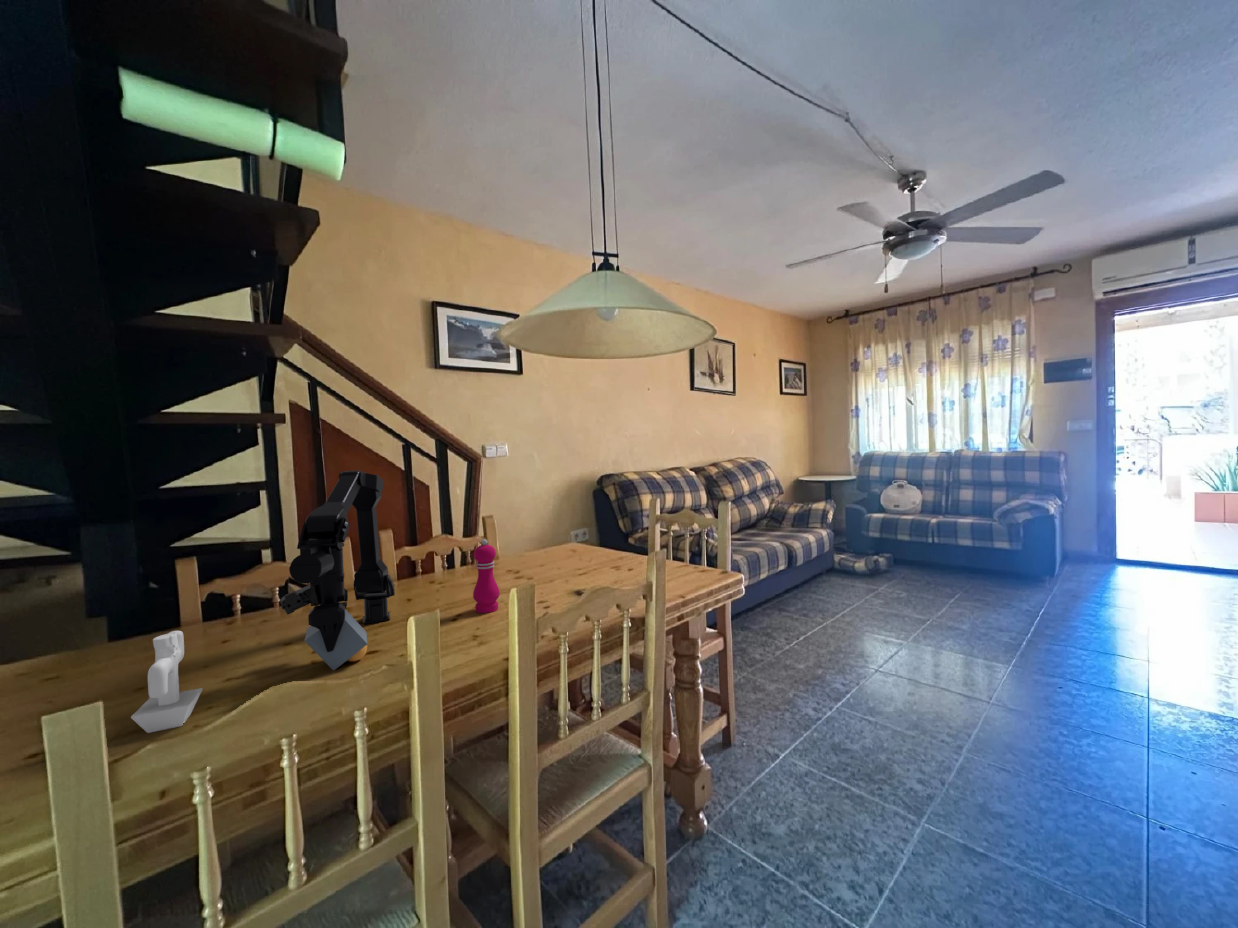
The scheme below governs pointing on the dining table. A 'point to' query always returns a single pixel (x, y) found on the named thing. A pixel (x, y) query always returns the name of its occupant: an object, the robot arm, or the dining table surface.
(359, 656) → the ball
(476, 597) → the pepper mill
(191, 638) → the dining table surface
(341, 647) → the slate grey cube
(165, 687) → the figurine
